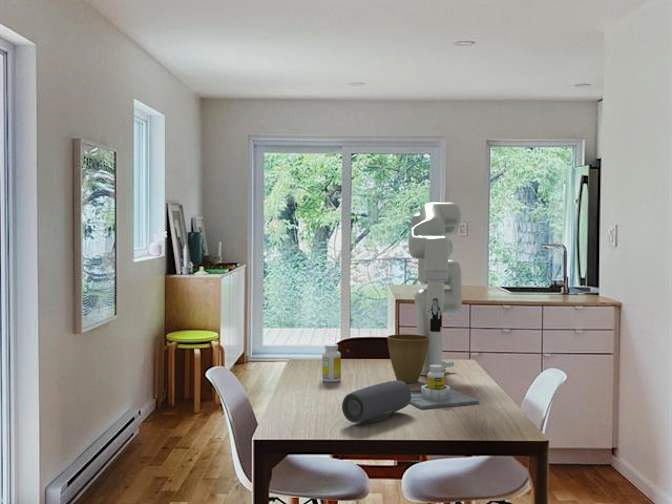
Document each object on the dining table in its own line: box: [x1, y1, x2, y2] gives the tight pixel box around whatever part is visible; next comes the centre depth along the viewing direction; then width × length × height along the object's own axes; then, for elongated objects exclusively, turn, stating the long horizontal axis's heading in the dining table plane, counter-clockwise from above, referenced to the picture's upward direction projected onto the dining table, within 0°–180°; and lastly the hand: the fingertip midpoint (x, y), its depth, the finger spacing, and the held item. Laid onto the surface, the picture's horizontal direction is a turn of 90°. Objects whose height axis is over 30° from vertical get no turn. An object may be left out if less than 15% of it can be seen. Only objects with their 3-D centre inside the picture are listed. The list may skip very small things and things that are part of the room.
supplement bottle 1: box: [321, 343, 342, 383], centre depth 280 cm, size 7×7×13 cm
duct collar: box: [409, 384, 480, 410], centre depth 250 cm, size 20×20×4 cm
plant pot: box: [387, 333, 429, 384], centre depth 278 cm, size 15×15×16 cm
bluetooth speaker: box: [341, 380, 411, 424], centre depth 226 cm, size 23×9×10 cm, turn 141°
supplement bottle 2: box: [426, 365, 445, 389], centre depth 250 cm, size 5×5×10 cm
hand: (436, 329), depth 250 cm, fingers open, 9 cm apart
